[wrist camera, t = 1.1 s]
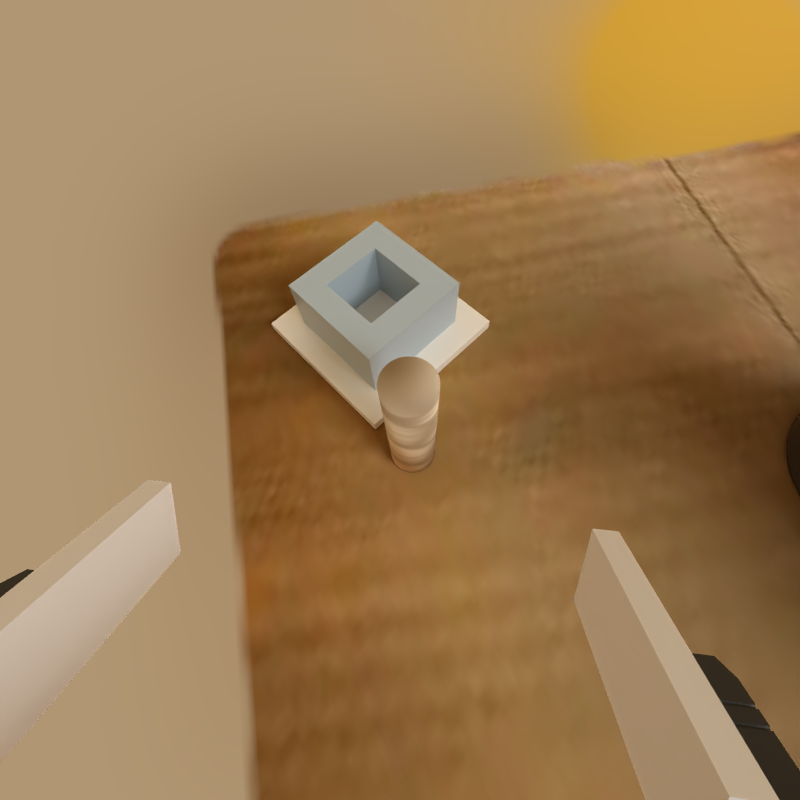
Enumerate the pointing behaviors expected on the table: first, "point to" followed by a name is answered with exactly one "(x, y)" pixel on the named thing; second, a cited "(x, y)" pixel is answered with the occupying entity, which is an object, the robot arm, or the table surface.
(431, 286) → the socket block
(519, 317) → the table surface
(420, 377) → the birch peg
